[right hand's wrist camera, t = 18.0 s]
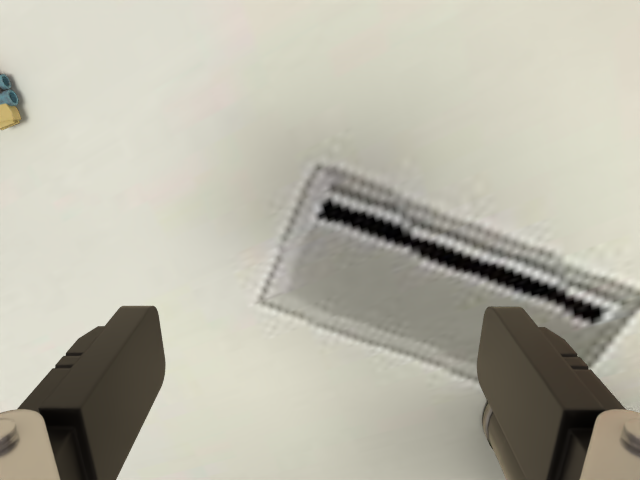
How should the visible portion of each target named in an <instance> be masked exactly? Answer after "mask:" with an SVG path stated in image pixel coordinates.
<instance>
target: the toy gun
mask: <svg viewBox="0 0 640 480" xmlns="http://www.w3.org/2000/svg"><path fill="white" fill-rule="evenodd" d="M10 88H11V82H10V80H9V78H8V77H7V76H6V75H4V74H0V129H1V130H4V129H6V128H9V127H11V126H14V125H16V124H18V123H20V122H19V120H21V117H20V114H19V111H18V109H17V108H16V107H15V106H16V105H17V104H18V101H19V100H18V97H17V95H16V94H15V93H14V91H12V90H7V89H10Z"/></svg>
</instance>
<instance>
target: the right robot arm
mask: <svg viewBox="0 0 640 480" xmlns="http://www.w3.org/2000/svg"><path fill="white" fill-rule="evenodd" d="M477 374H478V380H479V383H480V386H481V389H482V391H483V393H484V395H485V397H486V399H487V401H488V404H487V406H486V408H485V411H484V415H483V429H484V433H485V435H486V437H487V440H488V442H489V444H490V446H491V448H492V449H493V450H494V452H495V455H496V457H497V459H498V461H499V464H500V466H501V468H502V471H503V473H504V475H505V478H506V480H640V413H638V412H634V411H630V410H626V409H625V408H624V407H623V406H622V405H621V403H620V402H619V401H618V400H617V399H616V398H615V397H614V395H613V394H612V393H611V392H610V391H609V390H608V389H607V388H606V386H605V385H604V384H603V383H602V382H601V381H600V380H599V378H598V377H597V376H596V375H595V374H594V373H593V372H592V370H588V366H587V365H586V364H585V362H584V361H583V360H582V359H581V358H580V357H577V353H576V352H575V351H574V350H573V349H572V348H571V347H570V345H569V344H568V343H567V342H566V341H565V340H564V339H563V338H561V337H559V336H558V335H556V334H555V333H553V332H552V331H550V330H548V329H547V328H545V327H538V326H537V325H536V324H535V323H534V321H533V320H532V319H531V318H530V316H529V315H528V314H527V313H526V312H525V310H524V309H523V308H521V307H488V308H487V309H486V311H485V314H484V319H483V325H482V332H481V339H480V345H479V352H478V359H477ZM164 375H165V355H164V348H163V342H162V335H161V328H160V321H159V315H158V311H157V309H156V307H154V306H122V307H120V308H119V309H118V311H117V312H116V313H115V314H114V315H113V317H112V318H111V319H110V320H109V322H108V323H107V324H106V325H105V326H98V327H96V328H95V329H93V330H91V331H90V332H88V333H87V334H85V335H84V336H82V337H80V338H79V339H78V340H77V341H76V342H75V343H74V345H73V346H72V347H71V348H70V349H69V350H68V351H67V353H66V356H63V357H62V358H61V359H60V361H59V362H58V363H57V364H56V365H55V368H53V369H52V370H51V371H50V372H49V373H48V374H47V376H46V377H45V378H44V379H43V380H42V381H41V382H40V384H39V385H38V386H37V387H36V388H35V389H34V390H33V392H32V393H31V394H30V395H29V396H28V397H27V399H26V400H25V401H24V402H23V403H22V404H21V405H20V407H19V408H18V409H17V410H10V411H6V412H2V413H0V480H116V479H117V477H118V475H119V473H120V470H121V468H122V466H123V464H124V462H125V460H126V458H127V456H128V454H129V452H130V450H131V448H132V446H133V444H134V442H135V440H136V438H137V436H138V434H139V431H140V429H141V427H142V425H143V423H144V421H145V419H146V417H147V415H148V413H149V411H150V409H151V407H152V405H153V403H154V401H155V399H156V397H157V395H158V393H159V390H160V388H161V386H162V384H163V380H164Z"/></svg>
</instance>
